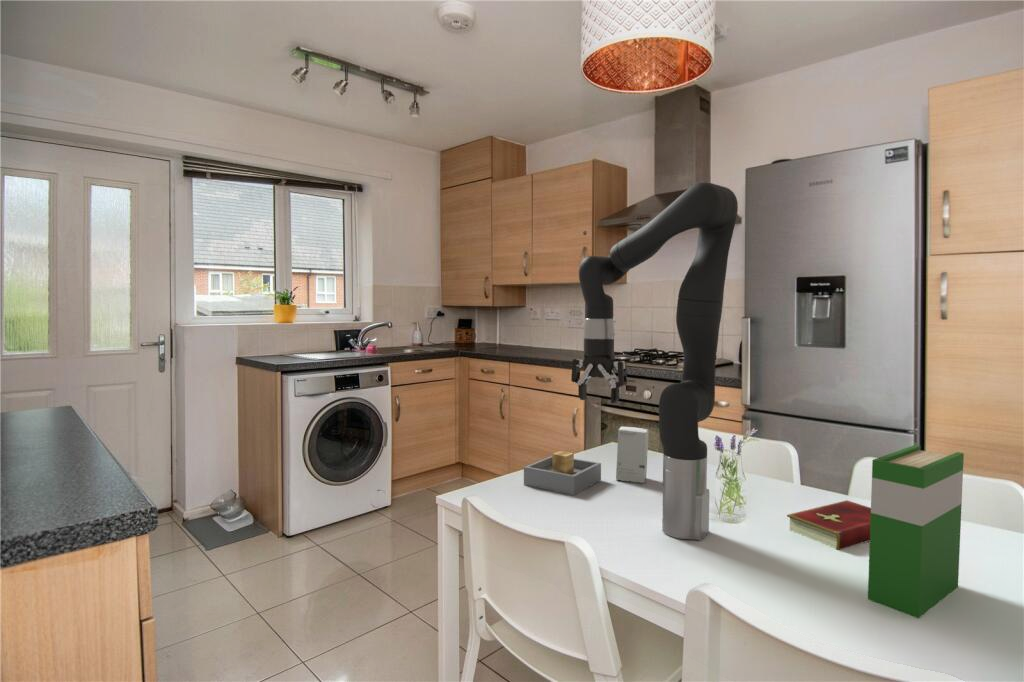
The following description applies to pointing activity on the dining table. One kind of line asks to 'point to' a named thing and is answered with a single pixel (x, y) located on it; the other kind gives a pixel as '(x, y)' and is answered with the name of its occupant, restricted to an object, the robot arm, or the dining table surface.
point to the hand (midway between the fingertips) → (598, 401)
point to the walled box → (562, 476)
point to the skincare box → (632, 454)
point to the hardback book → (915, 529)
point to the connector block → (563, 462)
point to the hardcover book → (834, 524)
